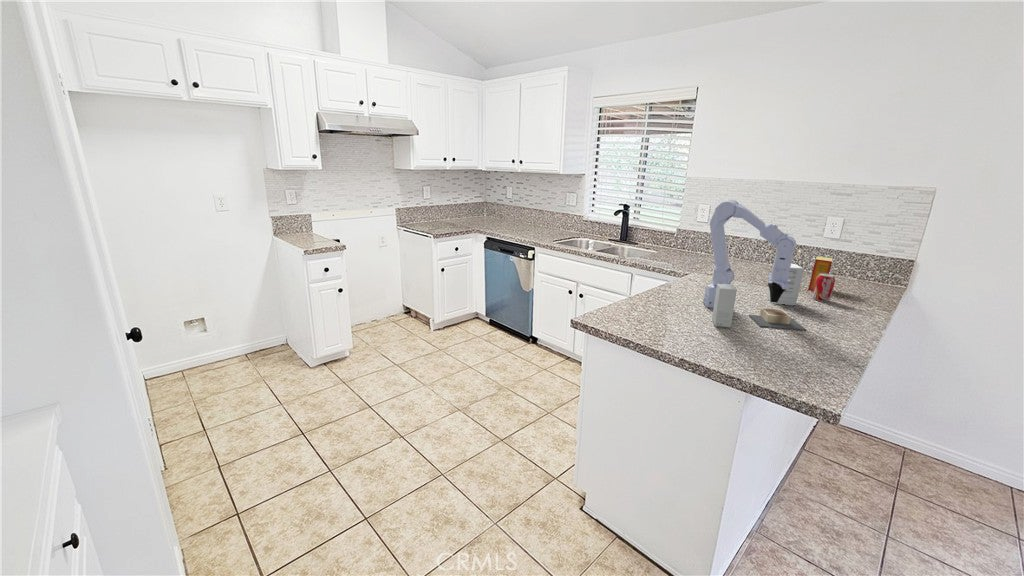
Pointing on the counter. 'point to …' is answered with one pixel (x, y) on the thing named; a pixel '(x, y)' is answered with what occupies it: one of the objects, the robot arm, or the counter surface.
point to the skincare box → (724, 305)
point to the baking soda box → (820, 269)
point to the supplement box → (790, 286)
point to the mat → (763, 323)
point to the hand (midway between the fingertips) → (773, 301)
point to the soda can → (823, 287)
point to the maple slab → (775, 315)
